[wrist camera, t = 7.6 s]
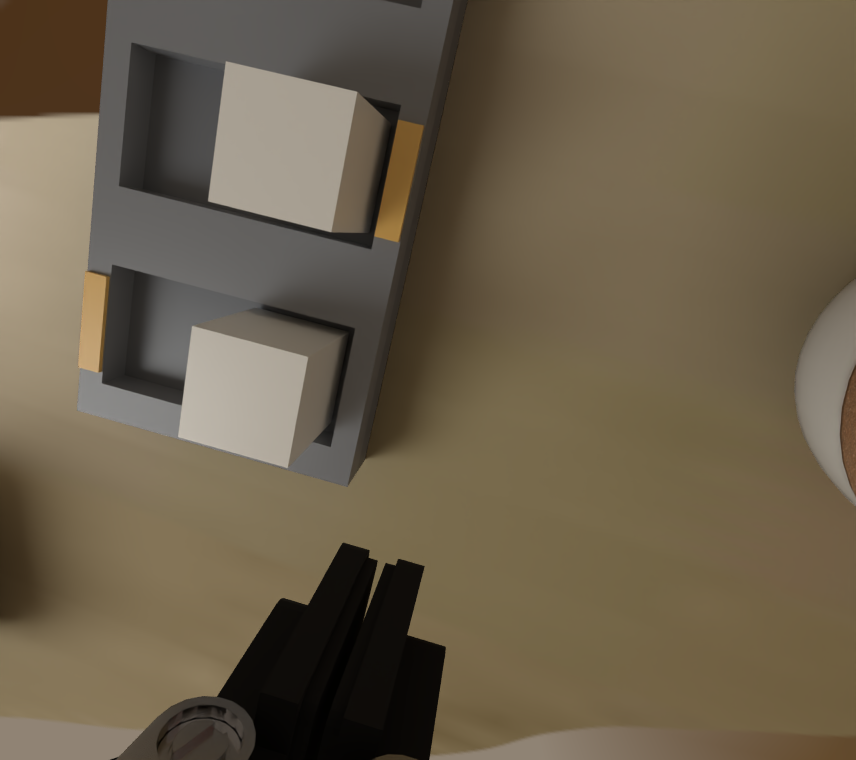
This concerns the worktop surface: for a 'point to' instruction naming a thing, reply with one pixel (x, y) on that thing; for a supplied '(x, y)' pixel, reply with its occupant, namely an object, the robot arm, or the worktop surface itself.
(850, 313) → the lidded jar
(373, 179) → the tab
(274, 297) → the switch bank
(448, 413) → the worktop surface
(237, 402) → the tab
